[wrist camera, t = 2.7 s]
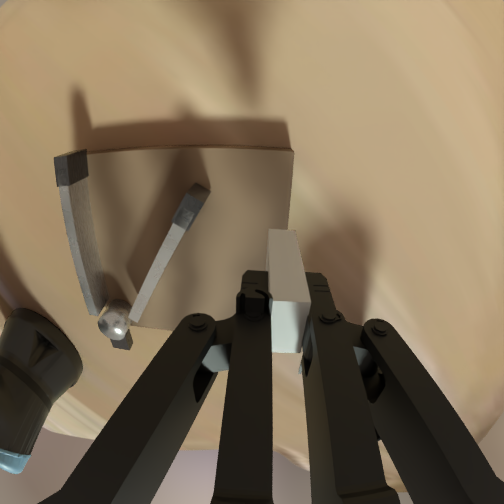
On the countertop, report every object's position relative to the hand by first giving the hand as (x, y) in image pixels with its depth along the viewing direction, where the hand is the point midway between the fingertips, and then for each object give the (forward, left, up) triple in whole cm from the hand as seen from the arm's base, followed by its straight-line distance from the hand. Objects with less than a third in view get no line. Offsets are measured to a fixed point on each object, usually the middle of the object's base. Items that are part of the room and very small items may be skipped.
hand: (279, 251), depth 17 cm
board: (-8, -4, -9) cm, 12 cm away
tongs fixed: (-15, -5, -7) cm, 17 cm away
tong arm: (-9, -4, -6) cm, 11 cm away
